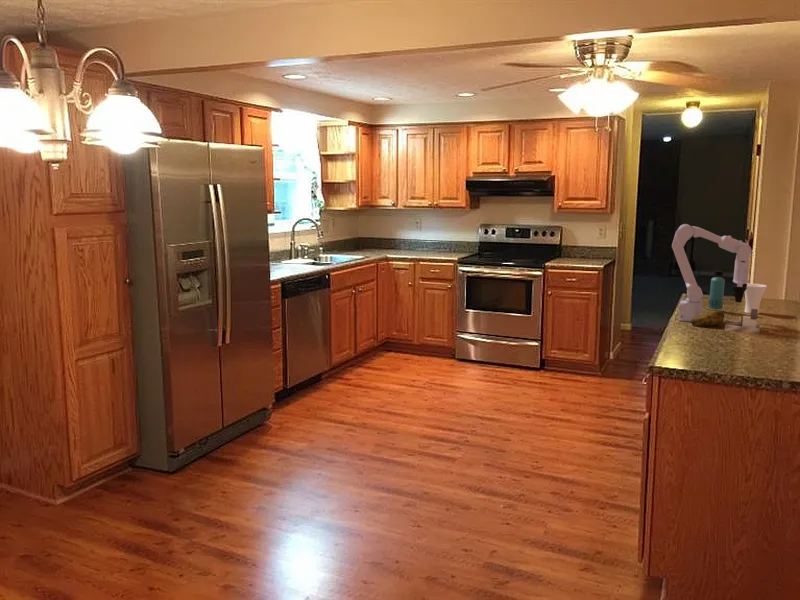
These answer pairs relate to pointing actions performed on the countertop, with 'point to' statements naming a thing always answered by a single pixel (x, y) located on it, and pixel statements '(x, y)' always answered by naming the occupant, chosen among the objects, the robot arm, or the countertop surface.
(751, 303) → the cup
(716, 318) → the potato
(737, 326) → the press board
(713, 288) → the beverage bottle
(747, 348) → the countertop surface
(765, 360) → the countertop surface
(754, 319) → the block
